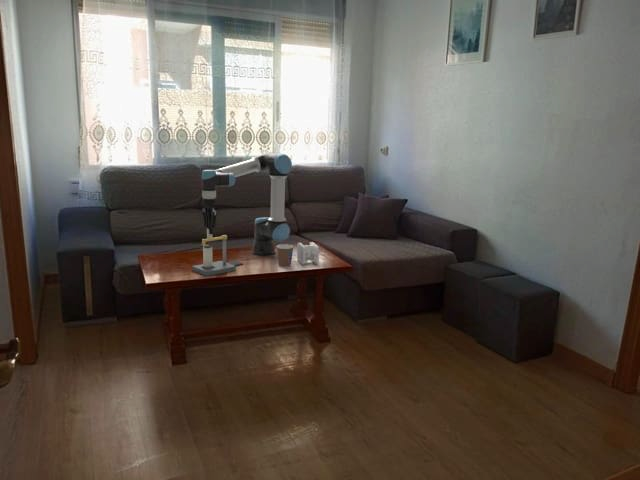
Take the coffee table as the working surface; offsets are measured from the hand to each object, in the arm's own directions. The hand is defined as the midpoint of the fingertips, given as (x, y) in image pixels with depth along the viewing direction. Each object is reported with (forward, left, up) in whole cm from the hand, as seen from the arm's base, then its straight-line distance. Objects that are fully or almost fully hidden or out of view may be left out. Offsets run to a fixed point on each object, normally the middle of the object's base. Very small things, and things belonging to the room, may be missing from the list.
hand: (209, 239), depth 288 cm
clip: (-1, +4, -2) cm, 4 cm away
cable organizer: (-54, +24, -18) cm, 62 cm away
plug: (+4, +4, -17) cm, 18 cm away
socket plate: (0, +4, -17) cm, 18 cm away
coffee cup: (-38, +21, -18) cm, 47 cm away
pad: (-16, 0, -17) cm, 24 cm away
